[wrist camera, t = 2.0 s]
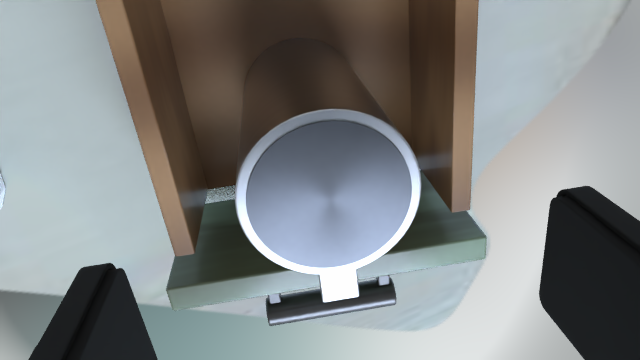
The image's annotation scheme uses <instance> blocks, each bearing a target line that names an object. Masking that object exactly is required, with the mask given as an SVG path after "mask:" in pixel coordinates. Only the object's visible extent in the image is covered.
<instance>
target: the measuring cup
mask: <svg viewBox="0 0 640 360" xmlns="http://www.w3.org/2000/svg"><path fill="white" fill-rule="evenodd" d="M420 197H421V173H420V169H419V165H418V162H417V159H416V157H415V154H414V152H413V151H412V149H411V147H410V146H409V144H408V143H407V141H406V140H405V139H404V137H403V136H402V135H401V133H400V132H399V131H398V129H397V128H396V127H395V125H394V124H393V123H392V121H391V120H390V119H389V117H388V116H387V115H386V113H385V112H384V111H383V109H382V108H381V107H380V105H379V104H378V103H377V101H376V100H375V99H374V97H373V96H372V95H371V93H370V92H369V91H368V89H367V88H366V87H365V85H364V84H363V83H362V81H361V80H360V79H359V77H358V76H357V75H356V73H355V72H354V71H353V69H352V68H351V67H350V65H349V64H348V63H347V61H346V60H345V59H344V58H343V56H342V55H341V54H340V53H338V52H337V51H336V50H335V49H334V48H332V47H331V46H329V45H327V44H325V43H323V42H320V41H317V40H313V39H307V38H295V39H289V40H285V41H282V42H279V43H277V44H275V45H273V46H271V47H270V48H268V49H267V50H265V51H264V52H263V53H262V54H261V55H260V56H259V57H258V58H257V59H256V61H255V62H254V63H253V65H252V67H251V68H250V70H249V73H248V75H247V78H246V82H245V88H244V98H243V109H242V119H241V130H240V141H239V152H238V163H237V174H236V185H235V207H236V213H237V217H238V220H239V223H240V225H241V227H242V230H243V232H244V234H245V235H246V236H247V238H248V239H249V241H250V242H251V243H252V245H253V246H254V247H255V248H256V249H257V250H258V251H259V252H260V253H262V254H263V255H264V256H265V257H266V258H268V259H270V260H271V261H273V262H274V263H276V264H278V265H280V266H282V267H284V268H287V269H290V270H293V271H297V272H302V273H307V274H317V275H319V282H320V289H321V296H322V301H323V302H330V301H336V300H342V299H348V298H354V297H359V286H358V275H357V268H360V267H362V266H364V265H367V264H369V263H371V262H373V261H374V260H376V259H378V258H379V257H381V256H382V255H384V254H385V253H386V252H388V251H389V250H390V249H391V248H392V247H393V246H394V245H395V244H397V243H398V241H399V240H400V239H401V238H402V237H403V236H404V234H405V233H406V231H407V230H408V228H409V227H410V225H411V223H412V221H413V219H414V217H415V215H416V212H417V209H418V206H419V202H420Z"/></svg>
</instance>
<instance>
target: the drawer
mask: <svg viewBox="0 0 640 360" xmlns="http://www.w3.org/2000/svg"><path fill="white" fill-rule="evenodd" d="M478 2H479V0H96V4H97V7H98V10H99V13H100V16H101V20H102V23H103V26H104V29H105V32H106V36H107V39H108V42H109V45H110V48H111V52H112V55H113V58H114V61H115V64H116V68H117V71H118V74H119V77H120V80H121V84H122V87H123V90H124V93H125V96H126V100H127V103H128V106H129V109H130V112H131V116H132V119H133V122H134V125H135V129H136V132H137V135H138V138H139V141H140V145H141V148H142V151H143V154H144V157H145V161H146V164H147V167H148V170H149V173H150V177H151V180H152V183H153V186H154V189H155V193H156V196H157V199H158V202H159V205H160V209H161V212H162V215H163V218H164V221H165V225H166V228H167V231H168V234H169V237H170V241H171V244H172V247H173V250H174V253H175V258H174V262H173V265H172V269H171V273H170V277H169V280H168V284H167V288H166V291H167V294H168V297H169V300H170V303H171V306H172V309H173V310H174V311H176V310H182V309H188V308H194V307H200V306H206V305H212V304H218V303H224V302H230V301H236V300H242V299H248V298H254V297H260V296H266V295H268V298H266V311H267V318H268V322H269V325H270V326H273V325H280V324H285V323H291V322H297V321H303V320H309V319H315V318H321V317H326V316H332V315H338V314H344V313H350V312H356V311H362V310H368V309H373V308H379V307H385V306H391V305H395V304H396V293H395V288H394V284H393V281H392V279H391V278H390V277H389V275H392V274H398V273H404V272H410V271H416V270H422V269H428V268H434V267H440V266H446V265H452V264H458V263H464V262H470V261H476V260H482V259H485V256H486V239H487V237H486V235H485V234H484V233H483V232H482V230H481V229H480V228H479V226H478V225H477V224H476V223H475V221H474V220H473V219H472V217H471V216H470V215H469V214H468V212H467V211H466V210H470V199H471V174H472V150H473V125H474V100H475V76H476V51H477V27H478ZM295 38H307V39H313V40H317V41H320V42H323V43H325V44H327V45H329V46H331V47H332V48H334V49H335V50H336V51H337V52H338V53H340V54H341V55H342V56H343V58H344V59H345V60H346V61H347V63H348V64H349V65H350V67H351V68H352V69H353V71H354V72H355V73H356V75H357V76H358V77H359V79H360V80H361V81H362V83H363V84H364V85H365V87H366V88H367V89H368V91H369V92H370V93H371V95H372V96H373V97H374V99H375V100H376V101H377V103H378V104H379V105H380V107H381V108H382V109H383V111H384V112H385V113H386V115H387V116H388V117H389V119H390V120H391V121H392V123H393V124H394V125H395V127H396V128H397V129H398V131H399V132H400V133H401V135H402V136H403V137H404V139H405V140H406V141H407V143H408V144H409V146H410V147H411V149H412V151H413V152H414V154H415V157H416V159H417V162H418V165H419V168H420V169H421V170H420V173H421V197H420V202H419V206H418V209H417V212H416V215H415V217H414V219H413V221H412V223H411V225H410V227H409V228H408V230H407V231H406V233H405V234H404V236H403V237H402V238H401V239H400V240H399V241H398V243H397V244H395V245H394V246H393V247H392V248H391V249H390V250H389V251H388V252H386V253H385V254H384V255H382V256H381V257H379V258H378V259H376V260H374V261H373V262H371V263H369V264H367V265H364V266H362V267H360V268H357V275H358V280H362V279H368V278H374V277H376V280H370V281H364V282H358V286H359V297H354V298H348V299H342V300H336V301H330V302H323V301H322V296H321V289H316V290H310V291H304V292H298V293H293V294H287V295H281V293H284V292H290V291H296V290H302V289H308V288H314V287H320V282H319V275H317V274H307V273H302V272H297V271H293V270H290V269H287V268H284V267H282V266H280V265H278V264H276V263H274V262H273V261H271V260H270V259H268V258H266V257H265V256H264V255H263V254H262V253H260V252H259V251H258V250H257V249H256V248H255V247H254V246H253V245H252V243H251V242H250V241H249V239H248V238H247V236H246V235H245V234H244V232H243V230H242V227H241V225H240V223H239V220H238V217H237V213H236V207H235V199H233V200H227V201H220V202H214V203H207V204H205V201H206V196H207V191H208V189H213V188H219V187H226V186H232V185H236V174H237V163H238V152H239V141H240V130H241V119H242V109H243V98H244V88H245V82H246V78H247V75H248V73H249V70H250V68H251V67H252V65H253V63H254V62H255V61H256V59H257V58H258V57H259V56H260V55H261V54H262V53H263V52H264V51H265V50H267V49H268V48H270V47H271V46H273V45H275V44H277V43H279V42H282V41H285V40H289V39H295Z"/></svg>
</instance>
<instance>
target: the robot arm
mask: <svg viewBox="0 0 640 360" xmlns="http://www.w3.org/2000/svg"><path fill="white" fill-rule="evenodd" d="M547 226H548V227H547V234H546V242H545V250H544V258H543V266H542V274H541V283H540V291H539V296H540V301H541V304H542V306H543V308H544V309H545V311H546V312H547V313H548V314H549V316H550V317H551V318H552V319H553V321H554V322H555V323H556V324H557V325H558V327H559V328H560V329H561V331H562V332H563V333H564V334H565V335H566V337H567V338H568V339H569V341H570V342H571V343H572V344H573V346H574V347H575V348H576V349H577V351H578V352H579V353H580V354H581V356H582V357H583V358H584V359H585V360H640V221H639V220H637V219H636V218H634V217H633V216H632V215H630V214H629V213H627V212H626V211H625V210H623V209H622V208H620V207H619V206H617V205H616V204H614V203H613V202H612V201H610V200H609V199H608V198H606V197H605V196H603V195H602V194H600V193H599V192H598V191H596V190H595V189H593V188H592V187H590V186H583V187H577V188H571V189H564V190H561V191H560V192H559V193H558V194H557V197H556V198H553V199H552V200H551V203H550V209H549V217H548V225H547ZM29 360H157V357H156V354H155V351H154V348H153V346H152V343H151V340H150V338H149V335H148V332H147V330H146V327H145V324H144V322H143V319H142V316H141V314H140V311H139V308H138V305H137V303H136V300H135V297H134V295H133V292H132V289H131V287H130V284H129V281H128V279H127V276H126V273H125V271H124V270H123V269H122V268H119V269H116V268H115V266H114V265H113V264H111V263H107V264H100V265H94V266H88V267H83V268H81V269H80V270H79V272H78V273H77V275H76V277H75V279H74V281H73V282H72V284H71V286H70V288H69V290H68V291H67V293H66V295H65V297H64V299H63V301H62V302H61V304H60V306H59V308H58V309H57V311H56V313H55V315H54V317H53V318H52V320H51V322H50V324H49V326H48V327H47V329H46V331H45V333H44V334H43V336H42V338H41V340H40V342H39V343H38V345H37V346H36V347H35V349H34V351H33V353H32V354H31V356H30V358H29Z"/></svg>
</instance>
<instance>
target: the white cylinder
mask: <svg viewBox="0 0 640 360" xmlns="http://www.w3.org/2000/svg"><path fill="white" fill-rule="evenodd" d="M4 194H5V185H4V182H3V179H2V176H1V173H0V208H1V207H2V206H3V200H4Z"/></svg>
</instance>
